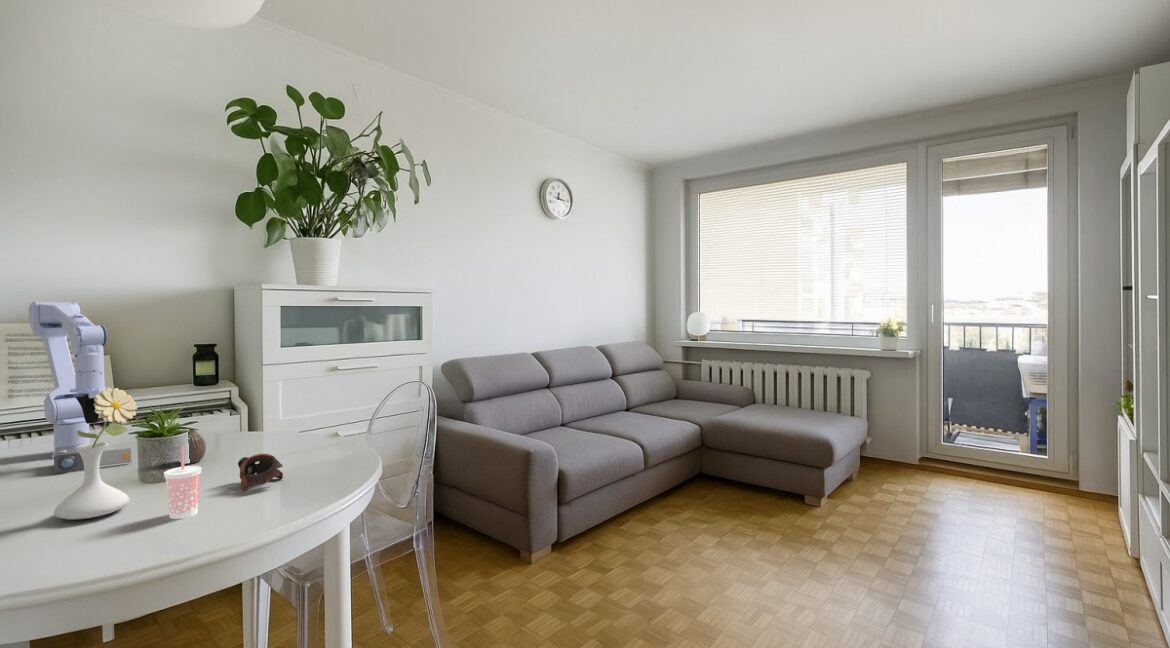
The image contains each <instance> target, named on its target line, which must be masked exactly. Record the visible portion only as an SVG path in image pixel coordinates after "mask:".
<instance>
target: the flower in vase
mask: <svg viewBox="0 0 1170 648" xmlns="http://www.w3.org/2000/svg"><path fill="white" fill-rule="evenodd" d="M102 394H103V395H102ZM94 401H95V402H96V403H94V406H95V413H97V414H99V418H102V419H103V421H104V424H103V427H102V428H101V430H100V432H99V433H98V434H96V433H90V432H89V433H85V432H81V431H79V430H77V433H78V435H79V436H81V437H86V438H90V439H95V440H94V441H93V442H92V443H91V442H90V444H84V445H79V446H76V447H75V450H76V451H78V452H79V454H80V455H81V457H82V460H83V463H84V470H83V471H84V478H83V481H82V484H81V485H80V486H79V487H78V488H77V489H76V490H75V491H73V492H72V493H71V494H69V495H68V496H67V497H65V498H64V499H63V500H62V501H61V502H59V504H58V505H56V507H55V508H54V511H53V515H54V516H55V517H56V518H58V519H62V520H85V519H91V518H97V517H102V516H104V515H108V514H111V513H114V512H116V511H119V510H120V509H122V508H125V507H126V506H127V505H128V504H129V502H130V497H129V496H128V494H127V493H125V492H123V491H122V490H120V489H118V488H115V487H113V486H112V485H109V484H107V483H105V482H104V481H103V480H102V478H101V475H100V474H101V473H100V466H99V465H100V458H101V455H102V452H103V450H106V447H107V446H109V445H108V443H107V442H98V441H99V439H100V437H101V436H102V434H103V432H104V431H105V432H106V433H107V434H108V435H110V436H113V437H116V436H118V435H122V434H124V433H126V432H127V431H128V430H129V429H128V428H127V427H126V426H124V425H123V424H126V423H127V422H128V419H129V420H131V419H133V417H135V416H137V413H136V411H137V410H138V406H137V403H136V401H135V400H134V399H133V396H131V395H130V394H127V392H126V391H125V390H124V389H120V388H118V387H115V388H110V387H106V390H103V391H101V393H99V394H97V395H96V396H95V398H94ZM108 422H109V423H111V424H109V425H108V426H107V423H108Z"/></svg>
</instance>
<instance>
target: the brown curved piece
mask: <svg viewBox="0 0 1170 648" xmlns="http://www.w3.org/2000/svg"><path fill="white" fill-rule="evenodd" d="M237 465H238V467H239V479H240V486H239V487H240V490H242V491H244V492H247V490H248V489H250V488H253V487H257V486H260V485H265V484H266V482H270V481H271V480H272V479H273V478H274V479H276V478H277V479H278V480H280V479H283V476H284V473H283V471H281V470H280V469H281V468H283V464H282V463H281V462H280V460H278V459H277V458H276V457H275V456H274V455H272V454H269V453H258V454H254V455H252V456H248V457H246V456H245V457H242V458H240V459H239V460H238V462H237ZM283 480H284V479H283Z"/></svg>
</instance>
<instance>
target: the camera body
mask: <svg viewBox="0 0 1170 648" xmlns="http://www.w3.org/2000/svg"><path fill="white" fill-rule="evenodd" d="M82 445H84V444H82ZM76 446H79V445H74V446H65V447H57V448H56V451H55V454H54V458H53V462H54V463H53V464H54V465H53V467H54V468H53V469H54V471H53V472H54V473H58V474H65V473H70V472H69V471H72V472H78V471H77V470H79V471H83V470H82V469H84V463H83V460H82V457H81V455H80V454H79V452H78V451H76V450H75V447H76ZM64 472H65V473H64Z"/></svg>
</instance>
